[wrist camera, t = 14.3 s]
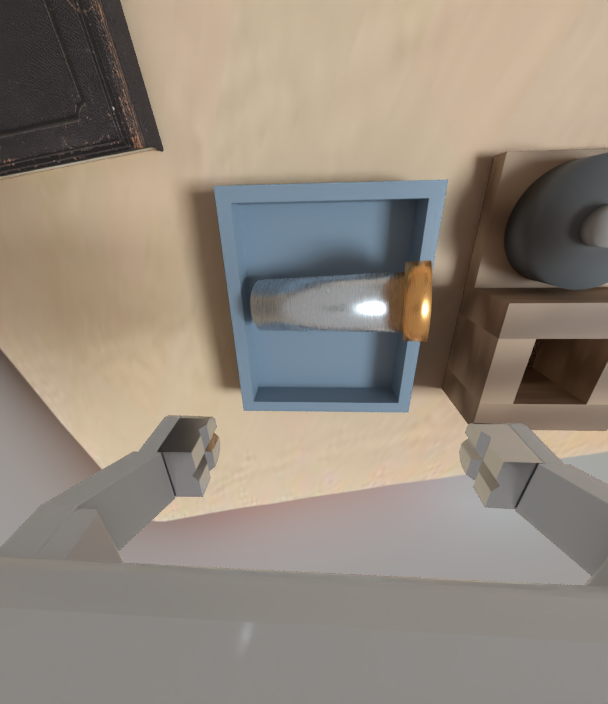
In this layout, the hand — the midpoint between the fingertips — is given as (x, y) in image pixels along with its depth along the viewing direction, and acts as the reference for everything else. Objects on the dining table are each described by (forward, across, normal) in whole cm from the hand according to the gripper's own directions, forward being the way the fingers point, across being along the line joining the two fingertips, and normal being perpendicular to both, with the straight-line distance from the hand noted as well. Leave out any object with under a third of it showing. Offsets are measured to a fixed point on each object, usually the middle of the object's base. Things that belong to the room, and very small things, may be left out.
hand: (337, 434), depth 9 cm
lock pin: (+14, +5, 0) cm, 15 cm away
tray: (+17, 0, +1) cm, 17 cm away
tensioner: (+17, -17, 0) cm, 24 cm away
